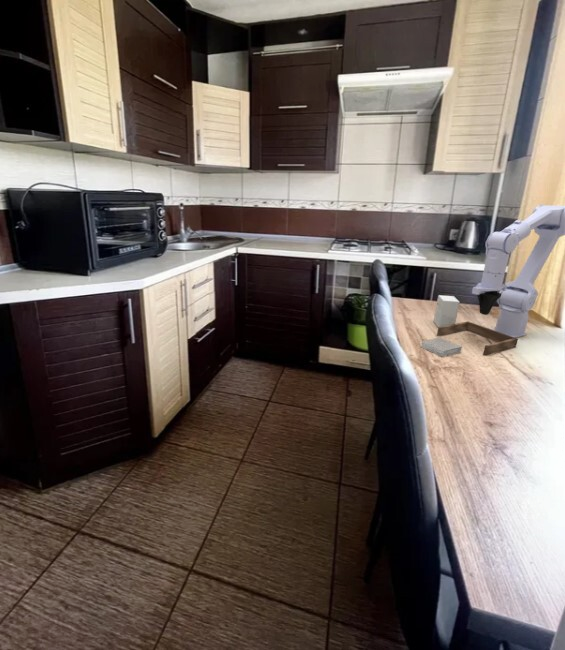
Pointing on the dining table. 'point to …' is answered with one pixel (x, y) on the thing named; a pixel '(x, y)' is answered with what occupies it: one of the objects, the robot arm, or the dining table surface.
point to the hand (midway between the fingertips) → (483, 313)
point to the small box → (446, 310)
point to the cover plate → (441, 347)
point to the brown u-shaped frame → (502, 339)
